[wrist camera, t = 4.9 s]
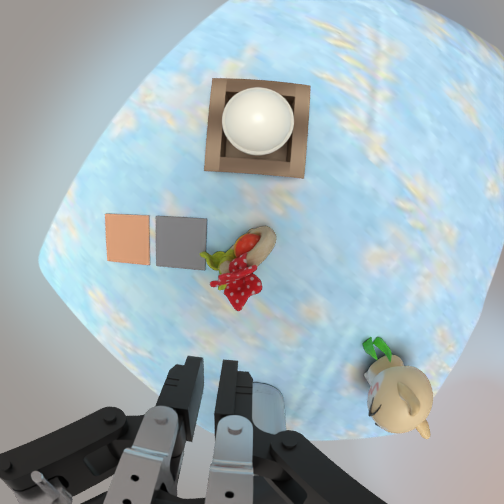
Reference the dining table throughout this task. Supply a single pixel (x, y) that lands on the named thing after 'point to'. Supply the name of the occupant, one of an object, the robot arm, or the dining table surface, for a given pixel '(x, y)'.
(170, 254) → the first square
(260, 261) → the bird rattle
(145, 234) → the tile
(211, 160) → the button frame
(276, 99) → the dome button
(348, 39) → the dining table surface
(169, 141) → the dining table surface
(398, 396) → the kitten
